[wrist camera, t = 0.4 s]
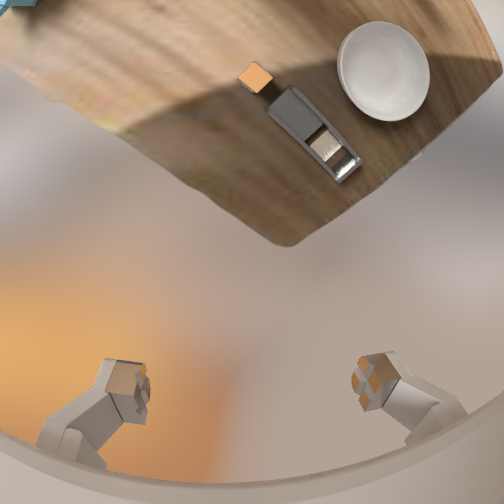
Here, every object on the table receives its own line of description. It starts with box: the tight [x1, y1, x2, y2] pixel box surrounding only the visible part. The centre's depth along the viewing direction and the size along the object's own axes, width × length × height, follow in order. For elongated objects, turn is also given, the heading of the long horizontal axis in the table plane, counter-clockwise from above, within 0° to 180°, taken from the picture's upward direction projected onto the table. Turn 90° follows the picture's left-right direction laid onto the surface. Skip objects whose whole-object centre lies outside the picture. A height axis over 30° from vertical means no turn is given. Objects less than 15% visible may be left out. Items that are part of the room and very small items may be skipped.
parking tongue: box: [236, 61, 271, 93], centre depth 42 cm, size 5×4×1 cm
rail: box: [264, 85, 363, 183], centre depth 49 cm, size 7×21×5 cm, turn 47°
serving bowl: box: [337, 21, 430, 121], centre depth 39 cm, size 21×21×7 cm
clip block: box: [238, 63, 273, 93], centre depth 40 cm, size 4×4×4 cm
